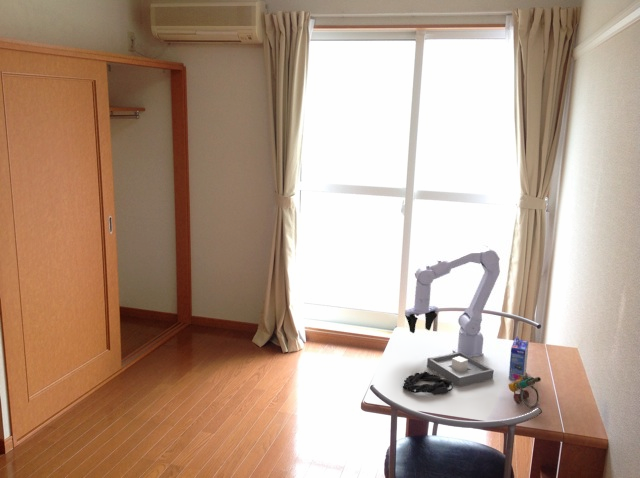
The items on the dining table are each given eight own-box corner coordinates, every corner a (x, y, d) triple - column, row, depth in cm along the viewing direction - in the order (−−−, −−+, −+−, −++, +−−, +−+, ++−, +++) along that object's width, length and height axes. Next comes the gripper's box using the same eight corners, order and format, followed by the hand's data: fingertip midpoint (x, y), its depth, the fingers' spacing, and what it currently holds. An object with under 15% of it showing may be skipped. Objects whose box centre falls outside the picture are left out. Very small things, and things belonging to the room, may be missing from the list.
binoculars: (530, 403, 194) (518, 375, 196) (554, 399, 188) (541, 369, 190) (516, 412, 188) (504, 382, 190) (539, 407, 182) (526, 377, 184)
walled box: (459, 360, 223) (460, 351, 222) (492, 379, 207) (493, 370, 207) (426, 366, 216) (427, 358, 215) (458, 387, 200) (459, 377, 199)
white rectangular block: (457, 369, 214) (459, 355, 213) (466, 373, 211) (467, 359, 210) (451, 372, 212) (452, 358, 211) (459, 376, 209) (461, 362, 208)
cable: (409, 399, 191) (410, 387, 190) (394, 380, 204) (395, 369, 203) (456, 394, 195) (457, 383, 194) (438, 377, 208) (439, 365, 207)
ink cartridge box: (510, 368, 217) (514, 332, 214) (526, 371, 215) (530, 335, 212) (507, 378, 208) (511, 341, 205) (523, 382, 206) (527, 344, 203)
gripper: (430, 293, 230) (428, 325, 233) (401, 297, 224) (399, 329, 226) (442, 298, 224) (439, 330, 227) (412, 302, 218) (409, 336, 220)
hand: (419, 330), depth 226 cm, fingers open, 7 cm apart
